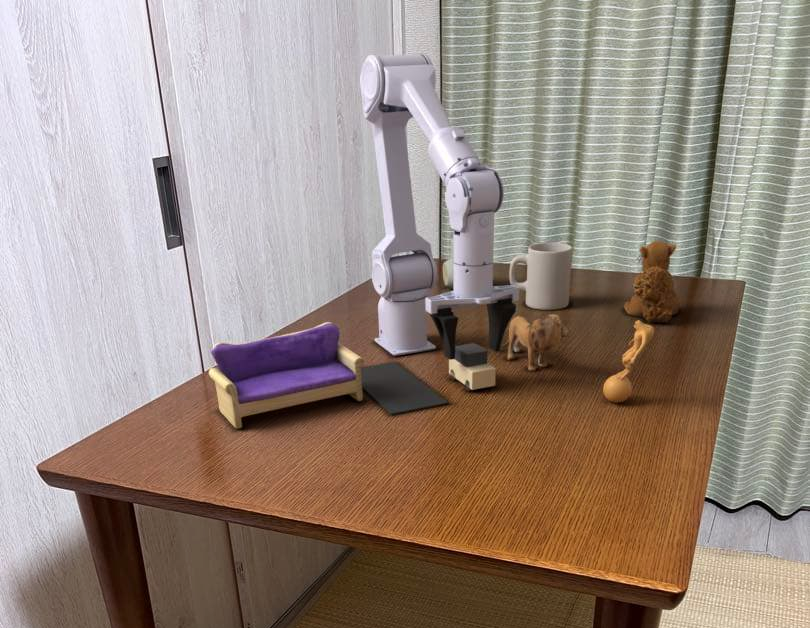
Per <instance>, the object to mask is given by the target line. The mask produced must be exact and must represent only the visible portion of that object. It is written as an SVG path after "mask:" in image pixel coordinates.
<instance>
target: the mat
mask: <svg viewBox="0 0 810 628" xmlns="http://www.w3.org/2000/svg"><path fill="white" fill-rule="evenodd" d="M361 382H362V391H363V390H364V392H365V393H367V394H368V395H369V396H370V397H371V398H372V399H373V400H374V401H375V402H376V403H378V404H379V406H380V407H382V408H383V409H384V410H385V411H386V412H387V413H388V414H389V415H390V416H395V415H400V414H405V413H410V412H415V411H419V410H426V409H430V408H435V407H441V406H446V405H448V404H449V401H447V400H445V399H444V398H443V397H441V396H440V395H439V394H438V393H436V392H435V391H434V390H433V389H432V388H430V387H428V386H427V385H426V384H425V383H423V382H422V380H420V379H418V378H417V377H416V376H414V375H413V374H412V373H411V372H409V371H408V370H406V369H405V368H404V367H402V366H401V364H399V363H398V362H397V361H393V362H388V363H387V362H386V363H381V364H376V365H370V366H362V367H361Z"/></svg>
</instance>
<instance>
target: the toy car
mask: <svg viewBox="0 0 810 628" xmlns="http://www.w3.org/2000/svg"><path fill="white" fill-rule="evenodd" d="M496 370H497V369H496V367H495V366H493V365H492V364H490V363H488V350H487V349H485V348H483V347H482V346H480V345H478V344H476V343H475V342H472V343H467V344H461V345H455V359H452V360H450V359H448V375H449V376H450V378H451V380H452V381H458V382H460V383H462V384H463V385H464V387H465V389H466V391H467V392H473V391H474V390H478V389H484V388H493V387H495V386H496V376H497V375H496Z"/></svg>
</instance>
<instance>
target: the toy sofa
mask: <svg viewBox="0 0 810 628" xmlns="http://www.w3.org/2000/svg"><path fill="white" fill-rule="evenodd" d="M340 335H341V334H340V327H338V326H337V325H336V324H335V323H333V322H330V321H326V322H323V323H320V324H318V325H317V326H314V327H312V328H308V329H304V330H300V331H295V332H291V333H286V334H282V335H277V336H273V337H267V338H262V339H258V340H252V341H248V342H241V343H232V342H226V341H225V342H224V341H219V342H218V341H217V342H215V344H214V345H213V348H212V350H211V351H210V354H211V355H212V357H213V359H214V361H215V364H216V365H217V368H216V367H211V368H209V370H208V376H209V377H210V379H212V380H213V381H214V386H215V389H216V396H217V401H218V408H219V412H220V413H221V414H222V415H223V416H224V418H226V420H227V421H228V422H229V423H230V424H231V425H232V427H234V428H235V429H236V430H238V429H241V428H242V427H243V423H242V418H244V417H247V416H252V415H257V414H261V413H265V412H271V411H274V410H279V409H283V408H289V407H293V406H297V405H303V404H308V403H312V402H316V401H320V400H325V399H330V398H335V397H339V396H340V397H341V396H344V395H349V396H350V397H352V398H353V399H354V400H356V401H357V402H361V401H363V400H364V399H363V397H364V395H363V389H362V382H361V368H363V367H364V365H365V359H364V358H362V357H361V356H360V355H358V354H357V353H355V352H354V351H352V350H351V349H349V348H347V347H346V346H344V345H343V344H342V343H340V342H339V341H340Z"/></svg>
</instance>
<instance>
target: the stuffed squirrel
mask: <svg viewBox="0 0 810 628" xmlns="http://www.w3.org/2000/svg"><path fill="white" fill-rule="evenodd" d="M676 250H677V245H676V244H674V243H671V244H669V245H668V243H666V242H665V241H661V240H659V241H658V240H656V241H652V242H650V243H649V244H647V245H646V246H639V248H638V251H639V253H640V254H639V256H637V258H635V261H637V263H638V264H639V263H640V262H641V266H642V272H641V273H640V274H637V275H636V276H635V278H634V281H633V282H634V283H633V284H632V287H633V290H634V291H633V292H632V293H633V294H634V295H632V297H631V300H630V301H626V302H625V303H624V305H623V307H624V310H625V312H626V313H627V314H628V315H629V316H633V317H637V318H643V319H645V320H646V322H649V323H668V322H669V320H672V316H674V315H676V314H678V311H679V308H680V302H681V301H680V297H679V295H678V294H677V292H676V291H675V282H674V280H673V276H672V274H671V272H669V267H670V264H671V260H670V259H671V256H672V255H673V254H674V252H675V251H676Z"/></svg>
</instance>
